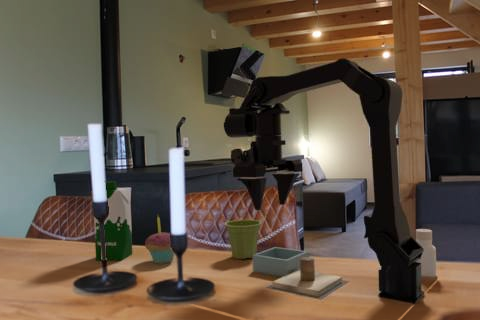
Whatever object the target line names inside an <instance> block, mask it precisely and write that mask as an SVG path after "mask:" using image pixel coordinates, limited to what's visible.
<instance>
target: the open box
mask: <svg viewBox="0 0 480 320" xmlns="http://www.w3.org/2000/svg"><path fill="white" fill-rule="evenodd" d="M309 255H310V252H309V251H308V250H307V251H305V250H299V249H293V248H285V247H278V246H274V247H271V248H268V249H266V250H263V251H260V252H257V253H256V254H254V255H253V258H252V272H253V273H259V274H265V275H269V276H275V277H280V278H282V277H284V276H286V275H288V274H290V273H292V272H294V271H296V270H298V269H299V270H300V259H301V258H310V256H309Z"/></svg>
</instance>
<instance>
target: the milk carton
mask: <svg viewBox="0 0 480 320" xmlns="http://www.w3.org/2000/svg"><path fill="white" fill-rule="evenodd" d="M105 182H106V190H107V198H108V206H109V215H108V217H107V219H106V220H105V222H104V230H105V242H106V258H107V260H106V261H123V260H125V259H126V258H128V257H129V256H131V255H132V254H133V238H132V237H133V235H132V234H133V232H132V230H133V229H132V212H131V211H132V209H131V201H132V200H131V197H132V195H131V193H132V187H118V186H117V181H116V180H112V181H110V180H109V181H106V180H105ZM92 197H93V192H92V191H91V198H92ZM93 221H94V223H93V224H94V247H95V260H96V261H102V260H101V245H100V226H99V222H98V220H97V219H96V218H95V217H94V216H93Z"/></svg>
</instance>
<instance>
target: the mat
mask: <svg viewBox="0 0 480 320" xmlns="http://www.w3.org/2000/svg"><path fill="white" fill-rule="evenodd" d="M348 283H350V280H349V281H348V280H343V279H342V282H341V283H339V284H338V285H336V286H335V287H333V288H331V289H330V290H328V291H327V292H325V293H323V294H322V295H320V296H314V295H309V294H304V293H300V292H295V291H290V290H285V289H280V288H276V287H273V283H272V284H270V285H267V286H265V288H266V289H271V290H275V291H281V292H285V293H289V294H293V295H299V296H303V297H307V298H311V299H318V300H323V299H324V298H326V297H328V296H329V295H331V294H332V293H334V292H335V291H337V290H338V289H340V288H342V287H343V286H345V285H346V284H348Z"/></svg>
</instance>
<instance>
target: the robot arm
mask: <svg viewBox="0 0 480 320" xmlns="http://www.w3.org/2000/svg"><path fill="white" fill-rule="evenodd" d="M340 83H343V84H344V85H345V86H346V87H347V88H349V89H350V90H351V91H352V92H354V93H355V94H356V95H358V96H359V97H358V98H359V101H360V105H361V111H362V114H363V116H364V118H365V120H366V122H367V124H368V127H369V130H370V131H369V133H370V149H371V163H372V164H371V166H372V167H371V168H372V184H373V185H372V186H373V198H374V205H373V209H372V212H370V213H369V214H365V215H364V216H363V223H364V228H365V231H364V232H365V233H364V236H363V238H364V239H367V244H368V246H369V248H370V249H371V250H372V251H373V252H374V253H375V255H376V258H377V260H378V263H379V266H380V268H379V269H378V271H377V272H378V291H379V293H378V294H377V296H378V297H379V298H384V299H389V300H395V301H398V302H399V301H400V302H404V303H410V304H412V305H416V304H417V303H418V302H419V301H420V299H422V297H424V296H425V291H424V290H422V276H421V263H419V262H416V261H417V260H419V259H421V256H422V254H423V251H424V249H423V248H422V247H421V246H420V245H419V243H418V242H417V241H416V238H414V237H413V236H412V235H411V230H410V227H409V222H408V218H407V216H406V213H405V211H404V209H403V206H402V204H401V196H400V195H401V194H400V193H401V192H400V180H399V179H400V178H399V163H398V162H399V161H398V146H397V142H398V141H397V124H398V120H399V117H400V113H401V110H402V101H403V89H402V87H401V85H400V84H398V82H396V81H394V80H391V79H388V78H385V77H383V76H382V77H381V76H377V75H376V74H373V73H372V72H370V71H368V70H367V69H365V68H363V67H362V66H360V65H359V64H358V63H357V62H356V61H353V60H350V59H347V58H344V57H343V58H339V59H337V60H336V61H332V62H329V63H325V64H323V65H319V66H314V67H312V68H308V69H305V70H302V71H298V72H294V73H291V74H287V75H276V76H275V75H270V76H269V75H268V76H258V77H256V78H254V79H253V80H252V81H251V84H250V86H249V90H248V91H247V93H246V96H245V98H244V99H243V101H242V103H241V105H240V106H239V108H238V107H237V108H236V107H230V108H229V112H228V114H227V115H226V116H225V118H224V121H223V130H224V132H225V135H226V136H227V137H228V138H230V139H231V138H232V139H233V138H250V137H254V140H253V141H251V142H250V144H249V145H250V148H249V149H247V150H246V149H245V150H242V149H241V148H234V149H232V150H230V163H231V164H232V165H233V166H232V178H236V180H237V181H238V182H241V183H242V184H243V185H244V186H245V188H246V190H247V192H248V194H249V197H250V200H251V202H252V205H253V208H254V210H255V211H261V208H262V205H263V204H262V203H263V202H264V201H263V199H264V194H265V189H266V183H267V179H268V178H267V177H265V175H266V173H271V174H272V177H273V178H274V179H275V180H276V186H277V194H278V202H279V205H281V206H284V205H285V204H286V203H287V200H288V197H289V195H290V193H291V191H292V188H293V186H294V184H295V182H296V180H297V179H298V177H299V176H300V173H301V172H303V162H302V161H300V159H286V158H283V148H282V146H286V140H285V139H284V140H283V139H282V117H281V116H282V115H289V114H290V113H291V112H290V110H289V109H288V108H286V106H284V104H283V103H285V102H287V101H289V100H290V99H292V98H293V96H295V95H298V94H302V93H306V92H310V91H314V90H318V89H321V88H325V87H329V86H334V85H336V84H337V85H338V84H340ZM272 172H273V173H272ZM275 172H276V173H275Z"/></svg>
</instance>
